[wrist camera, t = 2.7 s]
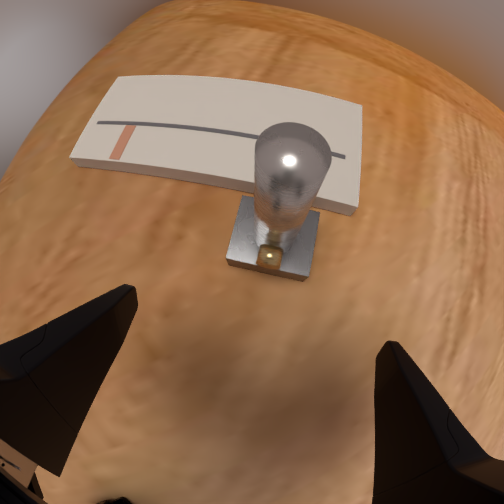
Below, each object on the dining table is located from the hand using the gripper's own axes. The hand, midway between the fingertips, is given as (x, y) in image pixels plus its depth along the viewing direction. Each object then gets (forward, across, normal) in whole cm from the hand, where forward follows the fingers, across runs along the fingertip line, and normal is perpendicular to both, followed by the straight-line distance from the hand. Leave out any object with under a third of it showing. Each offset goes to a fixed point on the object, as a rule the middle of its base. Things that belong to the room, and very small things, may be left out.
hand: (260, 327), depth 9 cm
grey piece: (+14, 0, +3) cm, 15 cm away
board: (+21, +8, -3) cm, 22 cm away
